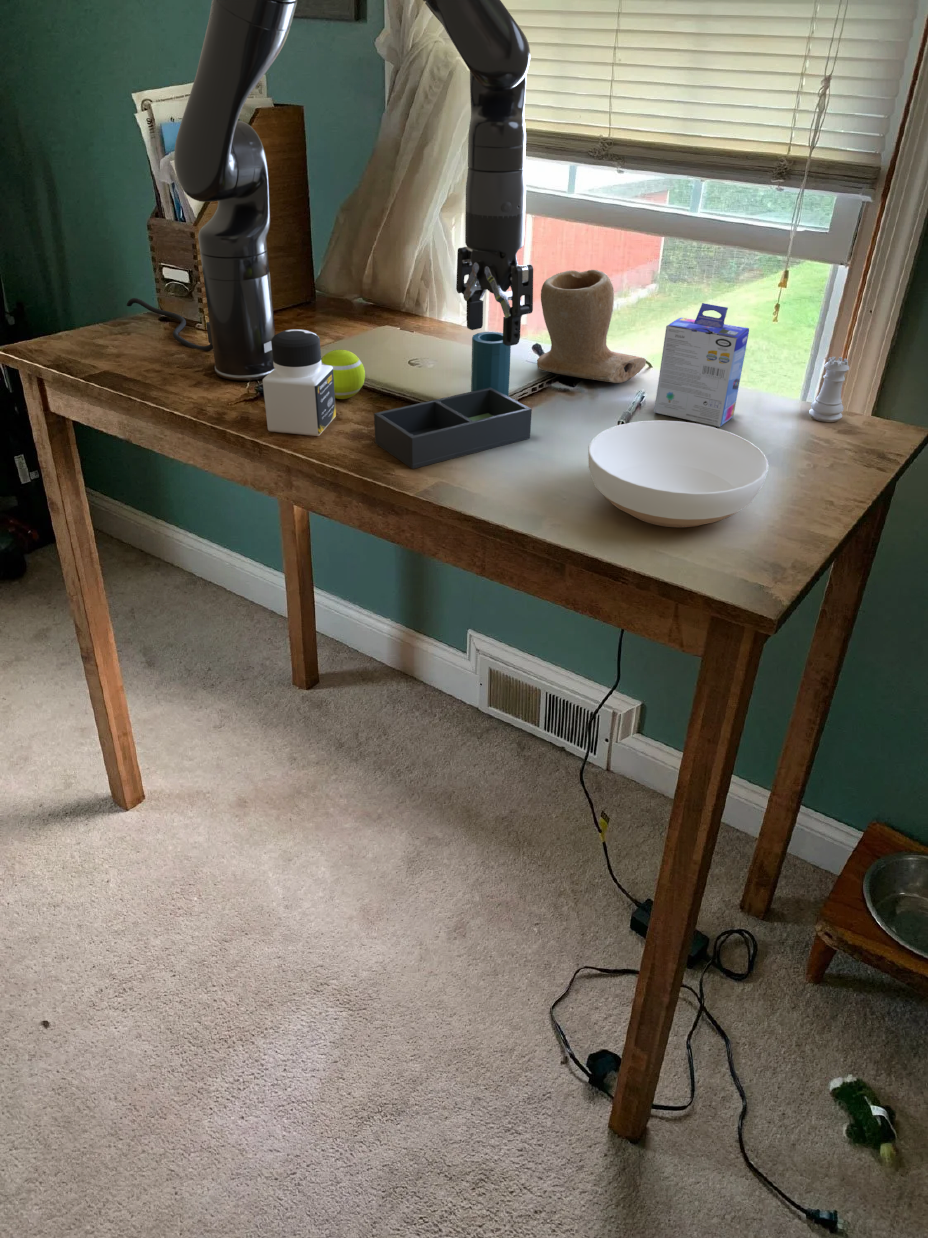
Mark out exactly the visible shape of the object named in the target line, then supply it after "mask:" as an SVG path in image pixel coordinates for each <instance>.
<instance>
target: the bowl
mask: <svg viewBox="0 0 928 1238" xmlns="http://www.w3.org/2000/svg"><path fill="white" fill-rule="evenodd" d="M587 448H588V452H587V454H588V455H587V456H588V469H589V470H588V471H589V473H590V476H591V480H592V482H593V485H594V487H595V488H596V489H597V490H598V492H599V493H600V494H601V495H603V496H604V498H606V499H607V500H608V502H610V503H611V505H613V506H615V507H616V508H618V509H619V510H620V511H622V512H625V513H626V514H628V515H631V516H632V517H634V518H636V519H638V520H640V521H642V522H645V523H648V524H651V525H655V526H661V527H667V528H692V527H698V526H703V525H706V524H712V523H716V522H720V521H722V520H724V519H728V518H729V517H731V516H733V515H735V514H737V513H738V512H740V511H742V510H745V508H747V507H748V506H749V505H751V504H752V503H753V501H754V500H755V498H756V497H757V496H758V494H759V492H760V491H761V489H762V488H763V486H764V485H765V481H766V478H767V475H768V473H769V465H770V463H769V460H768V458H767V456H766V455H765V453H764V452H763V451H762V450H761V449H760V448H759V447H758V446H756V445H755V444H753V443H752V442H751V441H750V440H747V439H745V438H744V437H742V436H740V435H738V434H735V433H733V432H730V431H727V430H724V429H721V428H719V427H717V428H716V427H715V426H711V425H706V424H702V423H697V422H696V423H695V422H686V421H680V420H679V421H678V420H641V421H632V422H628V423H623V424H622V423H621V424H617V425H615V426H612V427H609V428H607V429H604V430H602V431H601V432H599V433H598V434H596V436H594V437H593V438H592V439H591V440H590V443H589V444H588V447H587Z"/></svg>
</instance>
